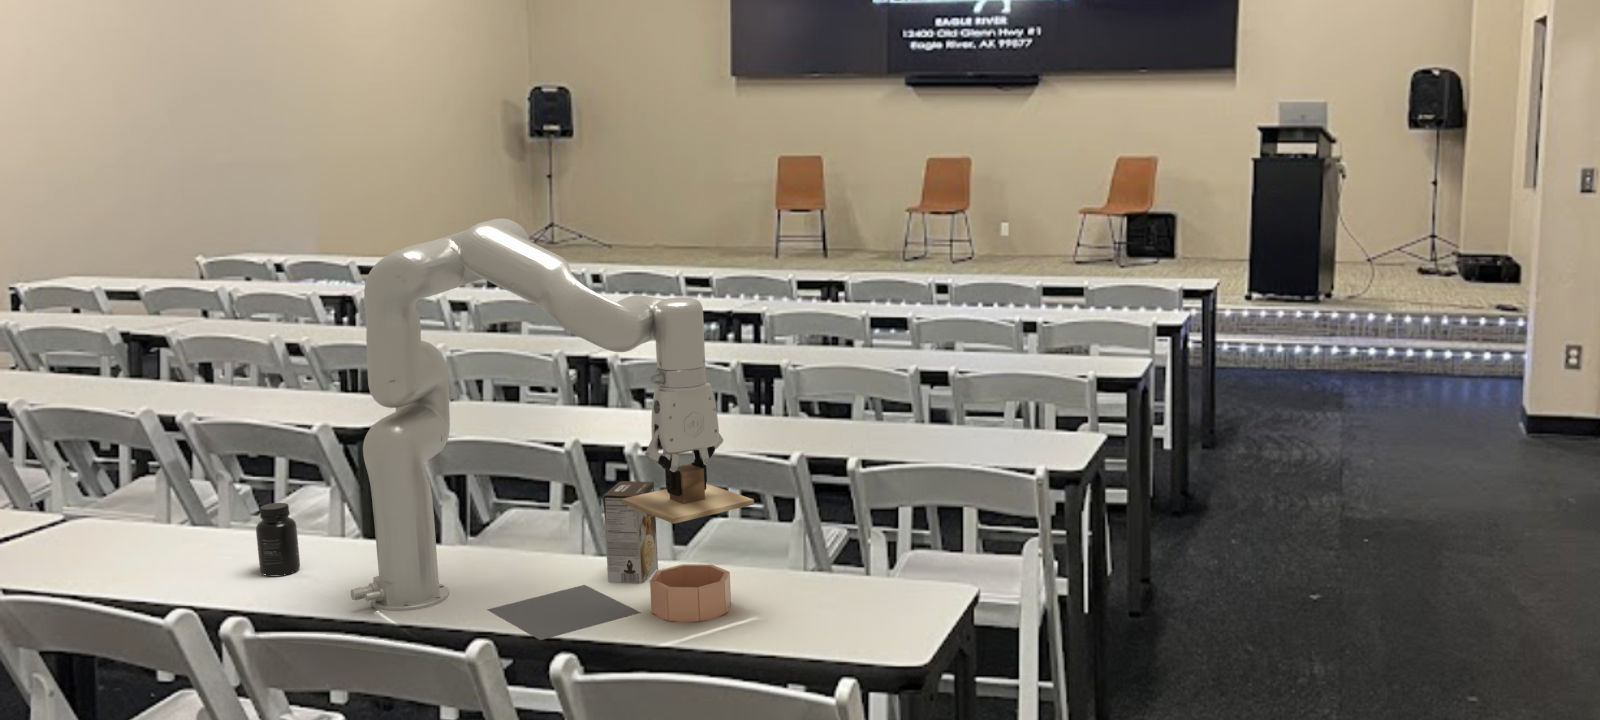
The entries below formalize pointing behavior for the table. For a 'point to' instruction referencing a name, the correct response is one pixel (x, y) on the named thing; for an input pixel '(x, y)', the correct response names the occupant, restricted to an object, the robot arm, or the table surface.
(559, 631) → the mat
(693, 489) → the lid
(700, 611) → the bowl
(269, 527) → the supplement bottle
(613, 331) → the robot arm
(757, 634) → the table surface
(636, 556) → the coffee box
